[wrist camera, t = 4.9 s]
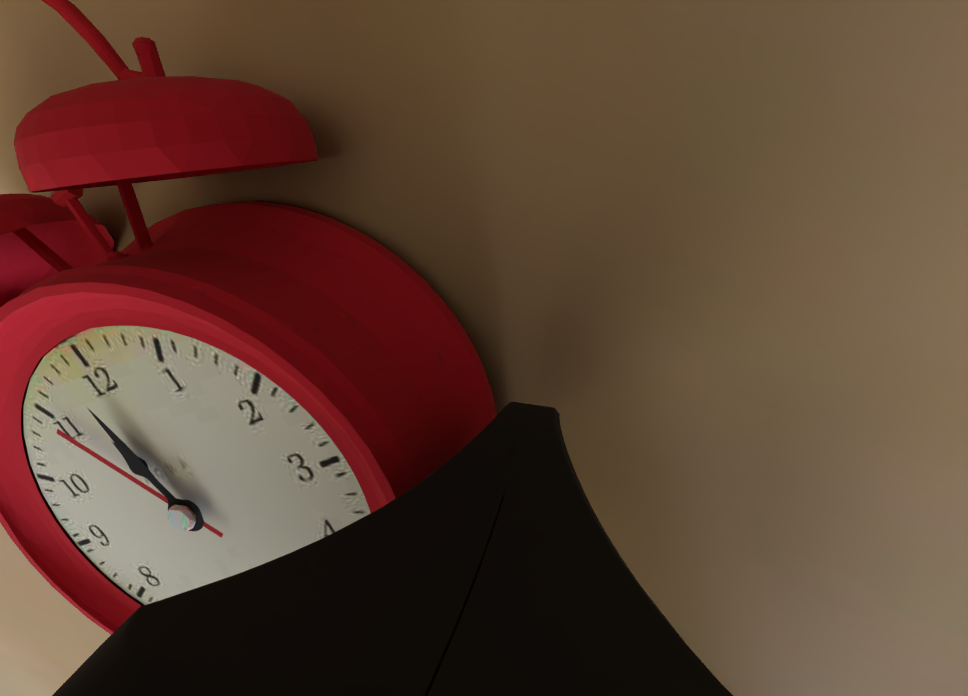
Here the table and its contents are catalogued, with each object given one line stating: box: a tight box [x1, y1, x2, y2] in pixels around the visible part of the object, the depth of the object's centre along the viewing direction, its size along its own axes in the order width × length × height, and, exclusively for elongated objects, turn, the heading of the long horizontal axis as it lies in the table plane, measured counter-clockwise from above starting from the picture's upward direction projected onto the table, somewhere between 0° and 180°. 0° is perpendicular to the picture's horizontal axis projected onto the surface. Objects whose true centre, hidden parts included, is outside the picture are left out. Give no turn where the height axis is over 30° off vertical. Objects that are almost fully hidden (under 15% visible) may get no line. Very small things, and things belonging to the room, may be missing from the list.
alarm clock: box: [0, 0, 497, 635], centre depth 10 cm, size 10×6×15 cm
